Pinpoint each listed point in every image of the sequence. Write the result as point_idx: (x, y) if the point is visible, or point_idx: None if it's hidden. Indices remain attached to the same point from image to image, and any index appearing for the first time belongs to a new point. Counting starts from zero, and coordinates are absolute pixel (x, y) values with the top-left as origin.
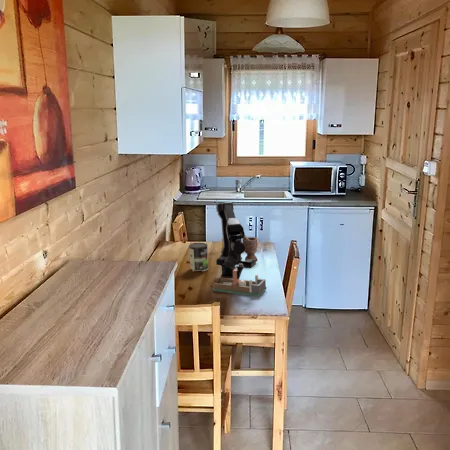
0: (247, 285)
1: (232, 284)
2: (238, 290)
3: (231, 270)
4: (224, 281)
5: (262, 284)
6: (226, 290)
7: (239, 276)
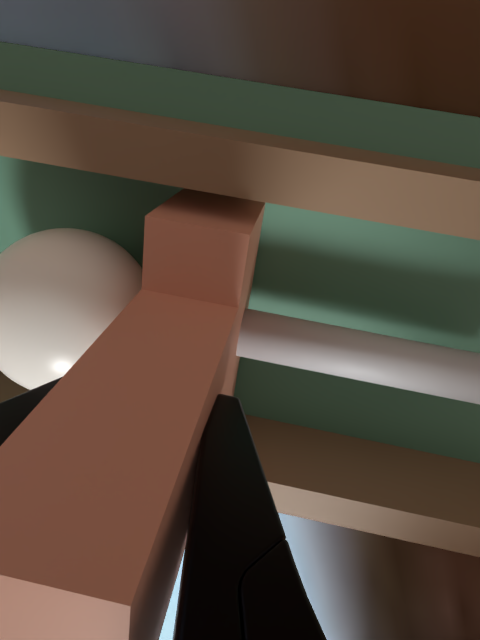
0: None
1: (243, 224)
2: (107, 109)
3: (215, 635)
4: (474, 485)
5: None
6: (378, 102)
7: None
